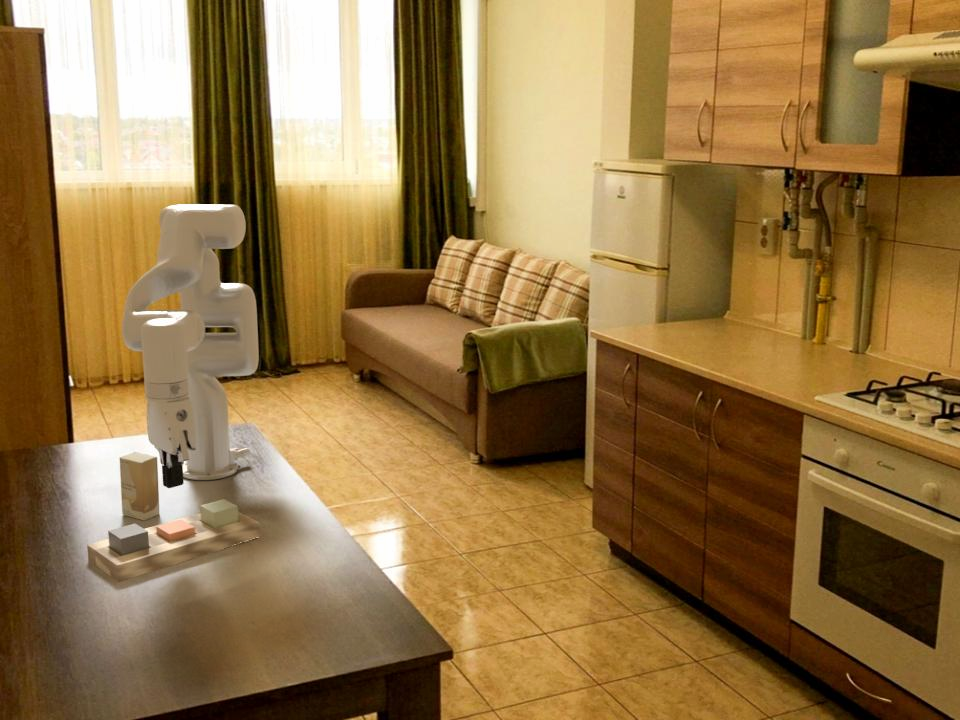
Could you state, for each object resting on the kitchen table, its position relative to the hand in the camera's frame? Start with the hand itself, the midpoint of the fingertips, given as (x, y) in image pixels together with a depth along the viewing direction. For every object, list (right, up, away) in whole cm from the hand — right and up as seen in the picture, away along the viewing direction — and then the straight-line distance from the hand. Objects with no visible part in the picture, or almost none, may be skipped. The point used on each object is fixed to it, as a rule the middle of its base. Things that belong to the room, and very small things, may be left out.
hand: (173, 485), depth 185 cm
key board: (0, -12, +2) cm, 12 cm away
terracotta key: (0, -11, +2) cm, 12 cm away
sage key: (+6, -8, +8) cm, 13 cm away
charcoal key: (-7, -11, -4) cm, 14 cm away
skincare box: (-12, -8, +18) cm, 23 cm away
